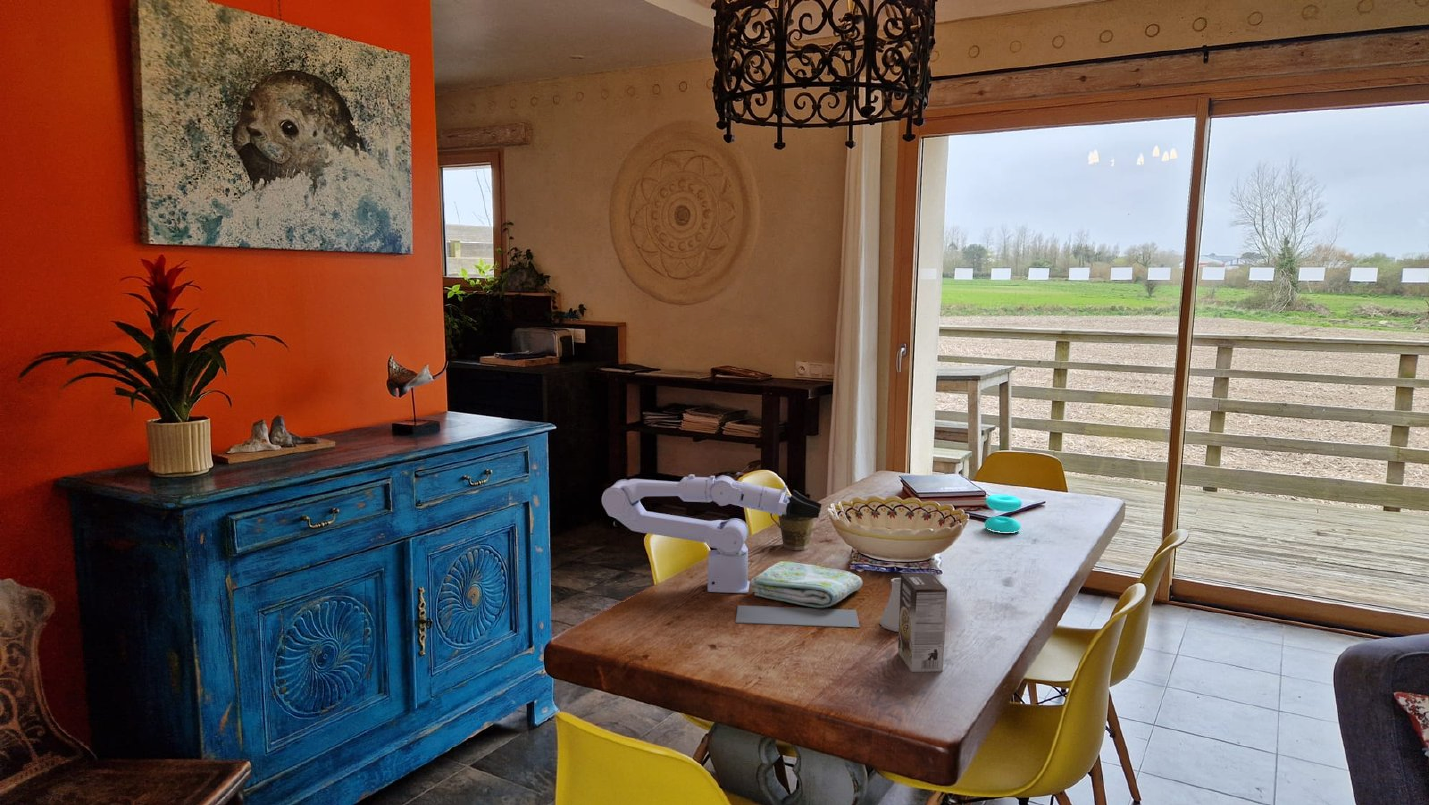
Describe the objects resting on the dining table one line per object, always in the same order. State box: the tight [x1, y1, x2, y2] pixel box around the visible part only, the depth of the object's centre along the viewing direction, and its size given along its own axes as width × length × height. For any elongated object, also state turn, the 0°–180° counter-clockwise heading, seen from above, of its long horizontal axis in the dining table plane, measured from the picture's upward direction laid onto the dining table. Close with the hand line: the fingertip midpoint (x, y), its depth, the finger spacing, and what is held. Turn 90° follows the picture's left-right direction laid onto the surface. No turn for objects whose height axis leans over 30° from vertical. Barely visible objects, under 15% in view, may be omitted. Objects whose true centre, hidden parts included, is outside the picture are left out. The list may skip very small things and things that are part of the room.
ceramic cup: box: [769, 512, 815, 551], centre depth 246 cm, size 13×10×10 cm
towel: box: [749, 560, 863, 609], centre depth 209 cm, size 18×21×5 cm
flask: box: [878, 577, 901, 633], centre depth 189 cm, size 7×7×10 cm
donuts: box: [984, 494, 1023, 532], centre depth 264 cm, size 10×10×10 cm
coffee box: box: [897, 572, 948, 673], centre depth 171 cm, size 9×6×16 cm
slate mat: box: [735, 604, 860, 629], centre depth 194 cm, size 26×10×1 cm, turn 86°
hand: (820, 510), depth 206 cm, fingers open, 7 cm apart
